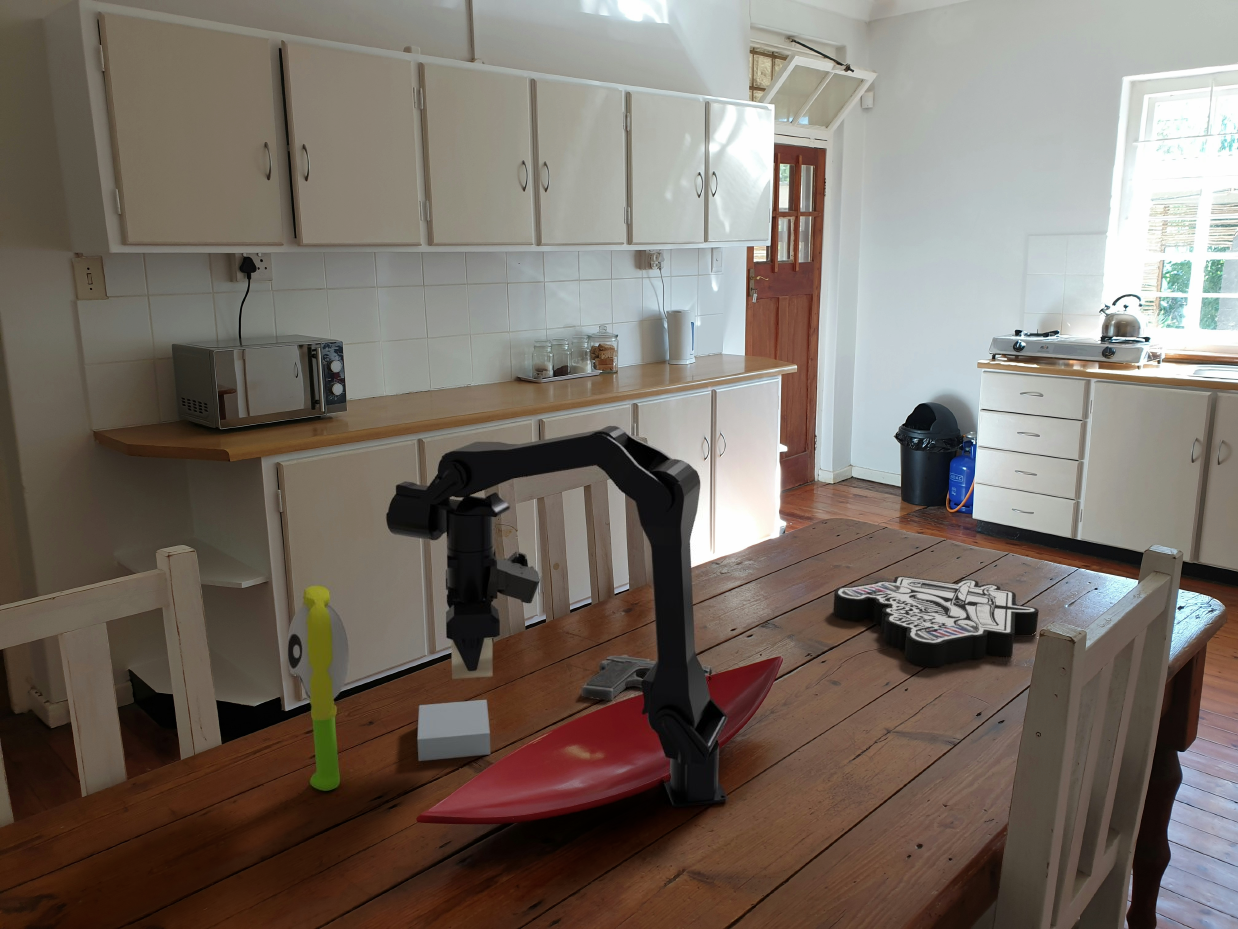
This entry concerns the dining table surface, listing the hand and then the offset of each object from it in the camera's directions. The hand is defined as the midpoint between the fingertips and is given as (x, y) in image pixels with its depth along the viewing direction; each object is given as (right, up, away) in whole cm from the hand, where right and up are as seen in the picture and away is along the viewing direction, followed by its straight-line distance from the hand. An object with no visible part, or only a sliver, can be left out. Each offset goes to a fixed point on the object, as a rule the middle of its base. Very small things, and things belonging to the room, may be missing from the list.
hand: (471, 661), depth 118 cm
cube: (0, -1, 0) cm, 1 cm away
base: (-3, -11, +4) cm, 12 cm away
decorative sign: (+75, -3, +41) cm, 85 cm away
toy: (-16, -14, -6) cm, 22 cm away
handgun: (+23, -8, +19) cm, 31 cm away
